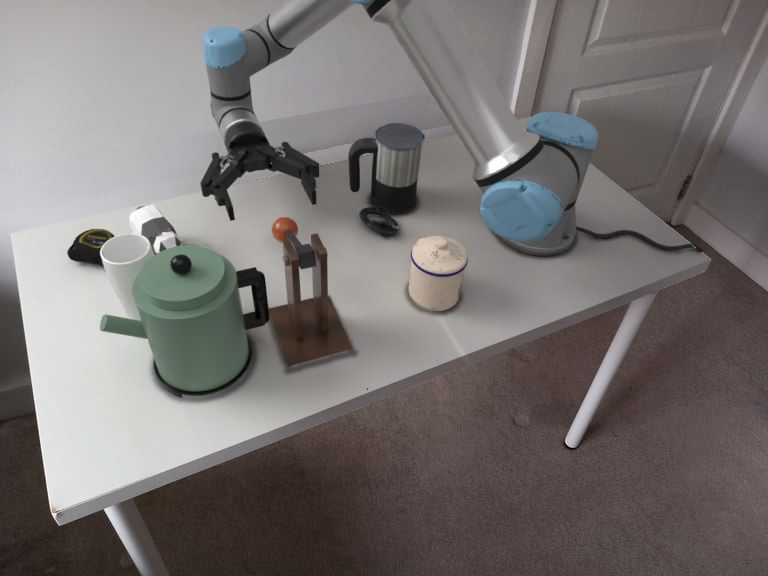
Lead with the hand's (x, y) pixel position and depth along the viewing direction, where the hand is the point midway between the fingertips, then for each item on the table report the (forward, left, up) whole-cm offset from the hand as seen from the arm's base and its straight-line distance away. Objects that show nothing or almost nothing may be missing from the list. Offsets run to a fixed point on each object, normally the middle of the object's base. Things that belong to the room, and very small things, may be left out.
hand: (273, 205), depth 96 cm
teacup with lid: (-27, +4, -12) cm, 29 cm away
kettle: (+7, +23, -12) cm, 27 cm away
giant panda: (+19, +2, -12) cm, 23 cm away
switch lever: (-5, +11, 0) cm, 13 cm away
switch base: (-8, +16, -12) cm, 21 cm away
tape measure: (+30, +3, -12) cm, 33 cm away
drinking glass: (+17, +16, -12) cm, 27 cm away
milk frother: (-19, -16, -12) cm, 27 cm away
